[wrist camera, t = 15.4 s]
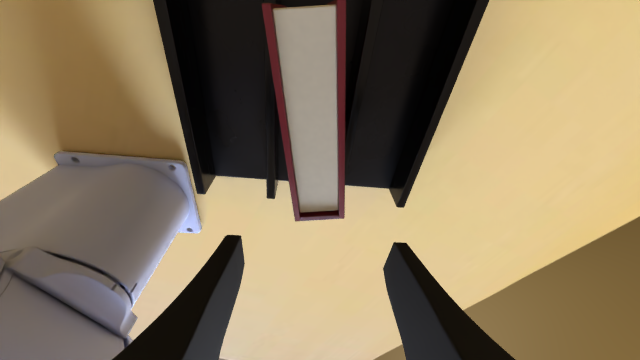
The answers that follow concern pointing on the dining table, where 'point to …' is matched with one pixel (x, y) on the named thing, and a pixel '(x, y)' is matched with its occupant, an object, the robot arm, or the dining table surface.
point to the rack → (360, 85)
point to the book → (311, 102)
